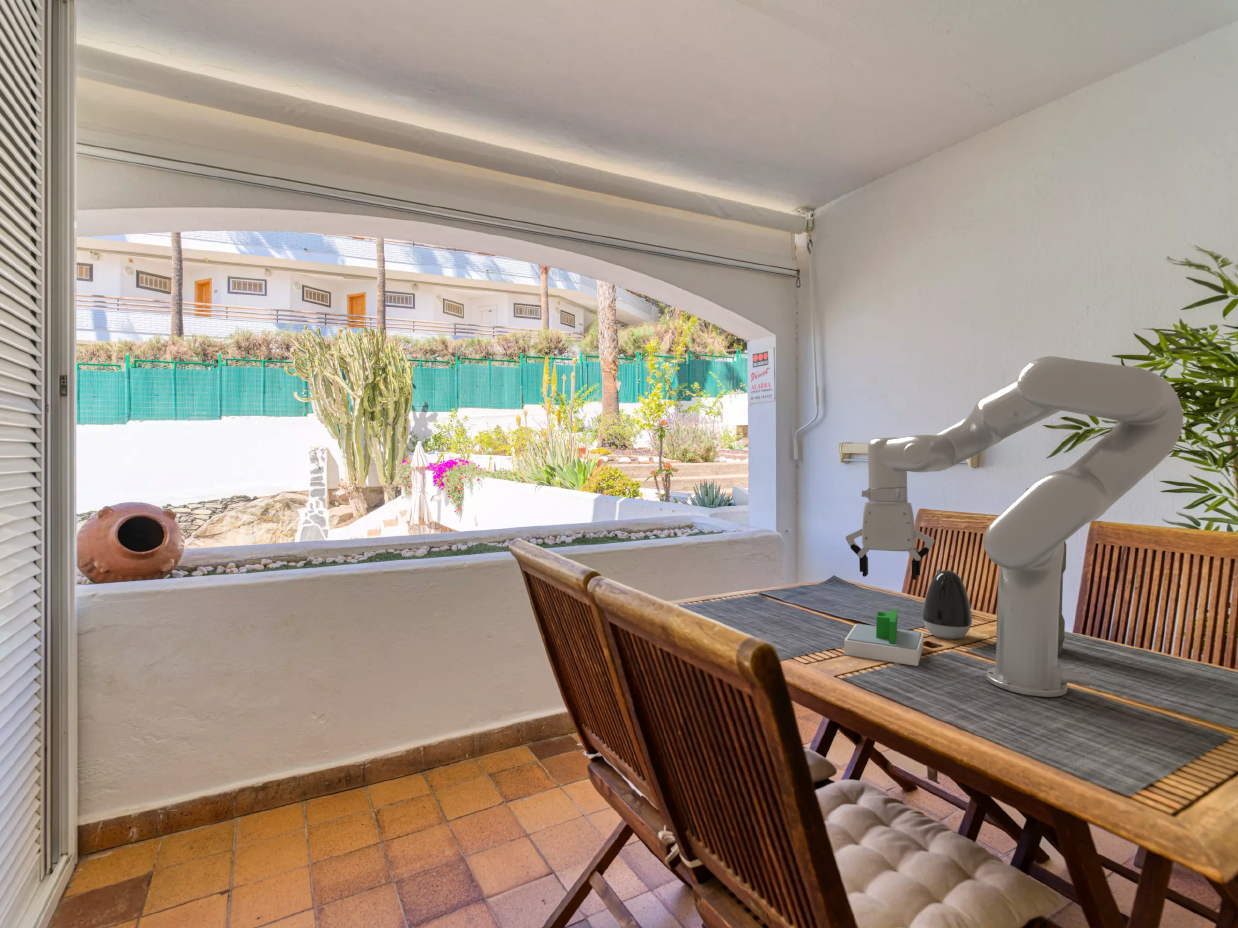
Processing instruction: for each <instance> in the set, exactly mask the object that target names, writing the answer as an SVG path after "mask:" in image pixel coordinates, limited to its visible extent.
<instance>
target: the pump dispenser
mask: <svg viewBox="0 0 1238 928" xmlns="http://www.w3.org/2000/svg"><path fill="white" fill-rule="evenodd" d="M922 607H923V608H922V614H921V618H922V620H923V623H924V624H923V625H925V626H924V627H925V628H926V630H927V631H928V632H929V633H930V634H932V635H933V636H935V638H940V639H945V640H958V639H961V638H963V637H965V636H966V635H967V634H968V632H969V630H970V628H971V626H972V625H973V616H972V608H971V603H970V600H969V595H968V593H967V589H966V587H965V585H964V582H963V581H962V578H961V577H960V575H959V574H957V572H954V571H952V570H950V569H949V570H947V569H945V570H944V569H943V570H941V569H937V570H936V574H935V575H934V577H933V578H932V580H931V582H930V584H929V587H928V589H927V592H926V595H925V598H924V602H923V605H922Z"/></svg>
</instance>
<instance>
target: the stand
mask: <svg viewBox="0 0 1238 928" xmlns="http://www.w3.org/2000/svg"><path fill="white" fill-rule="evenodd" d="M923 649H924V633H923V632H921V631H914V630H908V629H907V630H906V629H900V628H899V629H898V628H897V633H896V640H895V644H890V643H889V639H882V638H876V625H869V624H864V623H863V624H862V623H857V624H856V623H855V624H854V625H853V627H852V628H851V630H850V631H849V632H848V634H847V636H846V637H845V639H844V642H843V654H844V655H845V656H850V657H851V656H852V657H857V658H858V657H859V658H863V659H870V660H877V661H882V662H883V661H884V662H889V663H896V664H904V665H909V666H914V667H918V666H919V664H920V663H919V662H920V660H921V656H922V652H923Z"/></svg>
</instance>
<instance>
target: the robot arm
mask: <svg viewBox="0 0 1238 928" xmlns="http://www.w3.org/2000/svg"><path fill="white" fill-rule="evenodd" d="M1059 412H1068V413H1072V414H1079V415H1083V416H1091V417H1096V418H1101V419H1108V420H1110V421H1111V420H1112V421H1115V422H1116V423H1115V425H1114V427H1113V428H1112V429H1111V430H1110V431H1109V432H1108V433H1107V434H1106V435H1105V436H1104V437H1101V438H1100V439H1099V440H1098V441H1097V442H1096V443H1095V444H1094V445H1093V446H1092V447H1091V448H1090V449H1089V450H1087V452H1085V453H1084V454H1083V455H1082V456H1081V457H1080V458H1078V460H1076V461H1075V462H1074V463H1073V464H1071V465H1070V466H1069V467H1068V468H1065V469H1060V470H1055V471H1052V472H1050V473H1047V474H1046V475H1044V476H1043V477H1041V478H1040V479H1038V480H1037V481H1036V482H1035V483H1033V484H1032V485H1030V487H1029V489H1028V490H1027V491H1026V490H1025V491H1026V492H1023V493H1022V494H1021V495H1020V496H1019V497H1018V498H1017V499H1016V500H1014V501H1013V502H1012V503H1011V504H1010V505H1009V506H1008V507H1007V508H1006V509H1004V510H1003V511H1002V513H1000V514H999V515H998V516H997V517H996V518H995V519H994V520H993V521H992V522H991V523H990V524H989V525H988V527H987V528H986V530H985V532H984V535H983V548H984V551H985V553H986V556H987V557H988V558H989V560H990V561H991V562H993V563H994V564H995V565H997V566H998V567H999V572H998V581H997V601H996V602H997V604H996V607H997V608H996V636H995V637H996V640H995V642H996V645H995V650H996V651H995V667H991V668H989V669H987V670H986V672H985V678H986V680H987V681H988V682H989V683H991V684H992V685H994V686H996V687H998V688H1000V689H1002V690H1005V691H1009V692H1012V693H1016V694H1019V695H1020V694H1021V695H1025V696H1033V697H1041V698H1042V697H1043V698H1052V697H1053V698H1054V697H1061V696H1064V695H1066V694H1068V688H1069V687H1068V683H1071V684H1076V685H1078V686H1079V685H1080V686H1086V687H1090V682H1091V681H1090V680H1091V677H1090V674H1086V673H1080V671H1079V670H1075V669H1074V670H1073V669H1065V668H1064V667H1062V666H1061V665H1060V661H1059V660H1058V659H1059V658H1058V656H1059V654H1058V626H1059V603H1060V580H1061V569H1062V562H1063V555H1064V541H1065V542H1066V541H1067V540H1068V539H1069V538H1071V537H1072V536H1073V535H1074V534H1075V533H1076V532H1078V531H1079V530H1080V529H1081V528H1083V527H1084V526H1085V525H1086V524H1089V523H1093V521H1096V520H1098V519H1099V518H1101V517H1102V516H1103V515H1104V514H1105V513H1106V512H1107V511H1108V510H1109V509H1110V508H1111V506H1112V505H1114V504H1115V503H1117V501H1119V500H1120V499H1121V498H1122V497H1123V496H1124V495H1126V493H1128V492H1129V491H1130V490H1132V488H1134V487H1135V486H1136V485H1137V484H1139V482H1141V481H1142V479H1144V478H1145V477H1146V476H1147V475H1148V474H1149V473H1150V472H1152V471H1153V470H1154V469H1155V468H1156V467H1157V466H1158V465H1160V464H1161V462H1162V461H1164V460H1165V459H1166V458H1167V457H1168V455H1169V454H1170V453H1171V451H1172V450H1173V449H1174V448H1175V446H1176V444H1177V442H1178V441H1179V439H1180V436H1181V434H1182V430H1183V426H1184V413H1183V408H1182V404H1181V401H1180V398H1179V396H1178V395H1177V393H1176V390H1175V389H1174V388H1173V387H1172V385H1171V384H1170V383H1169V382H1168V381H1167V379H1165V378H1163V377H1162V376H1160V375H1159V374H1156V373H1154V372H1153V371H1150V370H1148V369H1145V368H1141V367H1137V366H1130V365H1129V366H1128V365H1123V364H1122V365H1120V364H1114V363H1113V364H1112V363H1105V362H1104V363H1103V362H1097V361H1089V360H1088V361H1087V360H1079V359H1075V358H1066V357H1060V356H1052V355H1049V356H1042V357H1039V358H1036V359H1034V360H1032V361H1030V362H1028V363H1027V364H1026V365H1025V366H1024V367H1023V368H1022V370H1021V371H1020V372H1019V375H1018V377H1017V379H1015V380H1013V381H1012V382H1010V383H1008V384H1006V385H1004V386H1002V387H1000V388H998V389H996V390H995V391H993V392H991V393H989V394H987V395H985V396H983V397H982V398H980V399H979V400H978V401H977V402H976V403H975V405H974V407H973V409H972V411H971V412H970V413H969V415H968V416H966V417H965V418H964V419H961V420H960V421H959V422H958V423H956V424H954V425H952V426H951V427H948V428H946V429H944V430H943V431H941V432H939V433H937V434H934V435H933V434H931V435H930V434H916V435H909V436H905V437H877V438H872V439H871V440H869V442H868V445H867V447H868V448H867V455H868V456H867V460H868V462H867V463H868V465H867V466H868V488H867V489H865V490H861V497H863V498H867V499H868V501H867V502H865V503H864V506H863V513H862V528H860V529H858V530H856V531H854V532H852V533H850V534H848V535H846V536H845V540H846V542H847V544H848V546H849V547H850V549H851V551H853V553H855V555H857V557H858V558H859V573H862V577H863V578H865V577H867V576H868V575H869V557H868V555H867V553H868V552H869V551H882V552H883V551H885V552H886V551H887V552H907V553H908V554H910V556H911V557H912V560H911V579H912V580H914V581H916V580H917V578H918V576H921V560H922V558H924V557H925V556H926V555H927V554H928V553H929V552H930V551H931V548H932V546H933V545H934V543H935V539H934V538H933V537H931V536H929V535H927V534H925V533H923V532H921V531H919V530H917V529H916V527H915V525H916V524H915V516H914V511H913V506H912V503H911V502H908V498H909V497H908V472H910V473H911V472H913V473H929V472H932V473H933V472H941V471H945V470H948V469H950V468H953V467H955V466H956V465H959V464H961V463H963V462H965V461H966V460H969V459H972V458H973V457H975V456H977V455H978V454H981V453H982V452H984V451H986V450H988V449H989V448H991V447H993V446H994V445H996V444H999V443H1000V442H1002V441H1003V440H1005V439H1007V438H1009V437H1011V436H1012V435H1014V434H1016V433H1018V432H1020V431H1022V430H1024V429H1026V428H1028V427H1031V426H1033V425H1034V424H1036V423H1039V422H1041V421H1043V420H1045V419H1047V418H1049V417H1051V416H1053V415H1055V414H1058V413H1059ZM860 537H861V538H862V539H861V544H862V548H861V547H860V546H859V545H858V544H857V543H856V541H855V539H857V538H860ZM916 539H919V540H920V541H922V542H924V543H925V544H924V546H923V548H921V549H920V550H919V551H918V549H917V548H916V547H915V546H916Z"/></svg>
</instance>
